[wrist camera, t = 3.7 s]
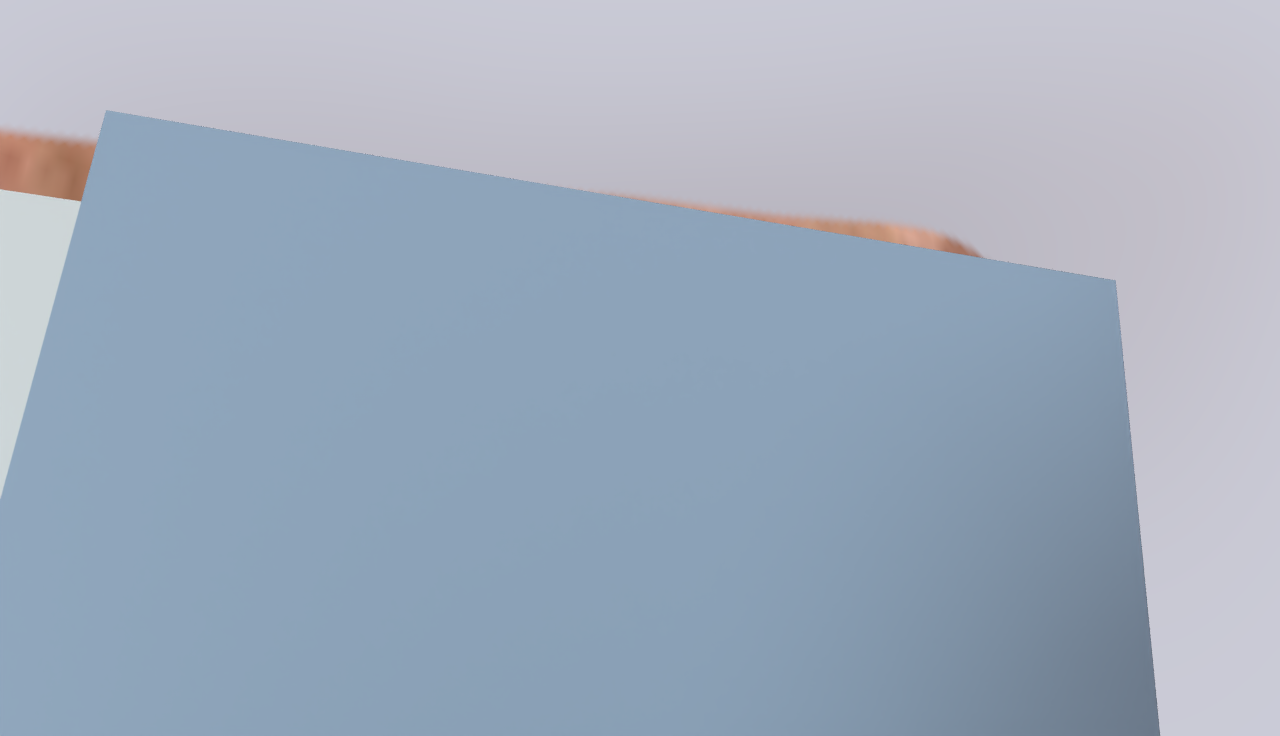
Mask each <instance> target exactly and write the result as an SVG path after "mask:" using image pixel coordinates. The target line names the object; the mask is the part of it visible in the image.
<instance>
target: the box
mask: <svg viewBox="0 0 1280 736" xmlns="http://www.w3.org/2000/svg"><path fill="white" fill-rule="evenodd" d="M0 736H1160V730H1159V720H1158V710H1157V699H1156V689H1155V679H1154V669H1153V658H1152V648H1151V638H1150V628H1149V617H1148V607H1147V597H1146V588H1145V577H1144V566H1143V556H1142V546H1141V536H1140V526H1139V515H1138V505H1137V495H1136V485H1135V474H1134V464H1133V454H1132V444H1131V434H1130V423H1129V413H1128V403H1127V393H1126V383H1125V372H1124V362H1123V352H1122V342H1121V331H1120V321H1119V312H1118V301H1117V291H1116V281H1115V280H1109V279H1104V278H1098V277H1092V276H1086V275H1080V274H1074V273H1068V272H1062V271H1056V270H1050V269H1044V268H1038V267H1032V266H1026V265H1021V264H1014V263H1009V262H1003V261H997V260H991V259H985V258H979V257H973V256H967V255H961V254H955V253H949V252H943V251H938V250H932V249H926V248H920V247H914V246H908V245H902V244H896V243H890V242H884V241H878V240H872V239H866V238H860V237H855V236H849V235H843V234H837V233H831V232H825V231H819V230H813V229H807V228H801V227H795V226H789V225H783V224H777V223H771V222H766V221H760V220H754V219H748V218H742V217H736V216H730V215H724V214H718V213H712V212H706V211H700V210H694V209H688V208H683V207H677V206H671V205H665V204H659V203H653V202H647V201H641V200H635V199H629V198H623V197H617V196H611V195H605V194H600V193H594V192H588V191H582V190H576V189H570V188H564V187H558V186H552V185H546V184H540V183H534V182H528V181H522V180H517V179H511V178H505V177H499V176H493V175H487V174H481V173H475V172H469V171H463V170H457V169H451V168H445V167H439V166H434V165H427V164H422V163H416V162H410V161H404V160H397V159H391V158H385V157H380V156H374V155H368V154H362V153H356V152H351V151H345V150H338V149H333V148H326V147H321V146H315V145H309V144H303V143H297V142H290V141H285V140H279V139H273V138H267V137H262V136H255V135H250V134H244V133H237V132H232V131H226V130H220V129H214V128H208V127H202V126H196V125H190V124H184V123H179V122H173V121H167V120H161V119H155V118H149V117H142V116H137V115H131V114H125V113H119V112H113V111H106V113H105V117H104V121H103V124H102V128H101V132H100V135H99V139H98V142H97V146H96V150H95V153H94V157H93V161H92V164H91V168H90V172H89V175H88V179H87V183H86V186H85V190H84V194H83V197H82V201H81V205H80V208H79V212H78V216H77V219H76V223H75V227H74V230H73V234H72V238H71V241H70V245H69V249H68V252H67V256H66V260H65V263H64V267H63V271H62V274H61V278H60V282H59V285H58V289H57V293H56V296H55V300H54V304H53V307H52V311H51V315H50V318H49V322H48V326H47V329H46V333H45V337H44V341H43V344H42V348H41V352H40V355H39V359H38V363H37V366H36V370H35V374H34V377H33V381H32V385H31V388H30V392H29V396H28V399H27V403H26V407H25V410H24V414H23V418H22V421H21V425H20V429H19V432H18V436H17V440H16V443H15V447H14V451H13V454H12V458H11V462H10V465H9V469H8V473H7V476H6V480H5V484H4V487H3V491H2V495H1V498H0Z"/></svg>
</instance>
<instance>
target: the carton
mask: <svg viewBox="0 0 1280 736" xmlns="http://www.w3.org/2000/svg"><path fill="white" fill-rule="evenodd" d="M80 205H81V202H80V201H74V200H67V199H60V198H54V197H47V196H40V195H34V194H27V193H20V192H14V191H7V190H0V498H1V495H2V491H3V487H4V484H5V480H6V476H7V473H8V469H9V465H10V462H11V458H12V454H13V451H14V447H15V443H16V440H17V436H18V432H19V429H20V425H21V421H22V418H23V414H24V410H25V407H26V403H27V399H28V396H29V392H30V388H31V385H32V381H33V377H34V374H35V370H36V366H37V363H38V359H39V355H40V352H41V348H42V344H43V341H44V337H45V333H46V329H47V326H48V322H49V318H50V315H51V311H52V307H53V304H54V300H55V296H56V293H57V289H58V285H59V282H60V278H61V274H62V271H63V267H64V263H65V260H66V256H67V252H68V249H69V245H70V241H71V238H72V234H73V230H74V227H75V223H76V219H77V216H78V212H79V208H80Z"/></svg>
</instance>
